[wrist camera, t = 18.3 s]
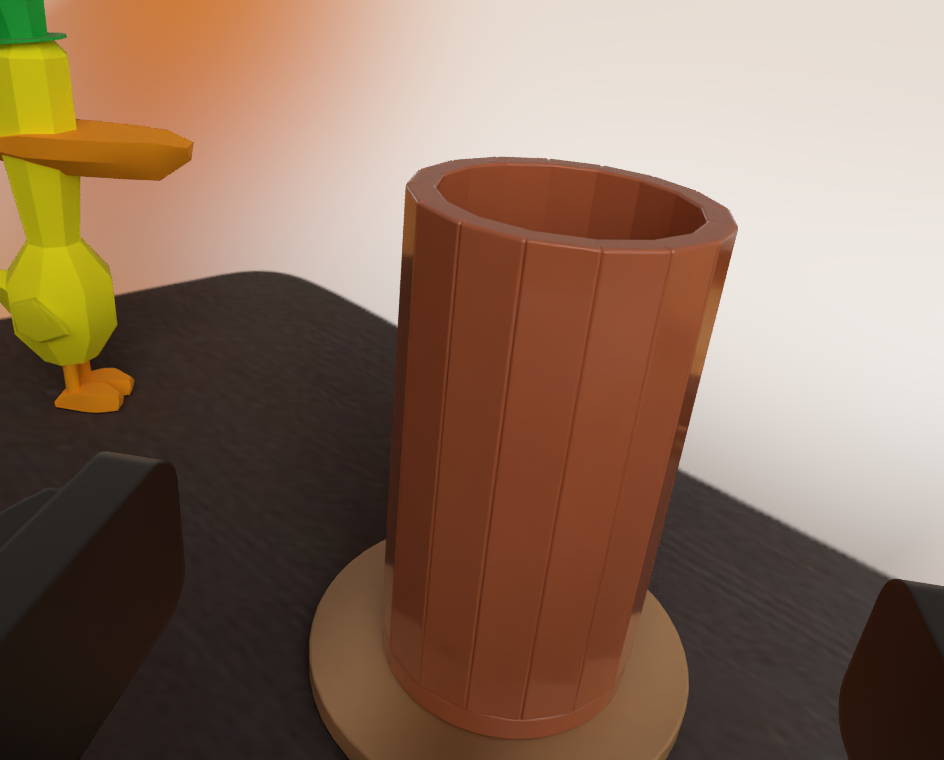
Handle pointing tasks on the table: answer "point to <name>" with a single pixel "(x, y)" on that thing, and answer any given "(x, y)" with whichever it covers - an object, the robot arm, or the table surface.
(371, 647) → the trivet
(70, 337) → the toy figure
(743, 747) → the table surface
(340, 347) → the table surface
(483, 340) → the pot
